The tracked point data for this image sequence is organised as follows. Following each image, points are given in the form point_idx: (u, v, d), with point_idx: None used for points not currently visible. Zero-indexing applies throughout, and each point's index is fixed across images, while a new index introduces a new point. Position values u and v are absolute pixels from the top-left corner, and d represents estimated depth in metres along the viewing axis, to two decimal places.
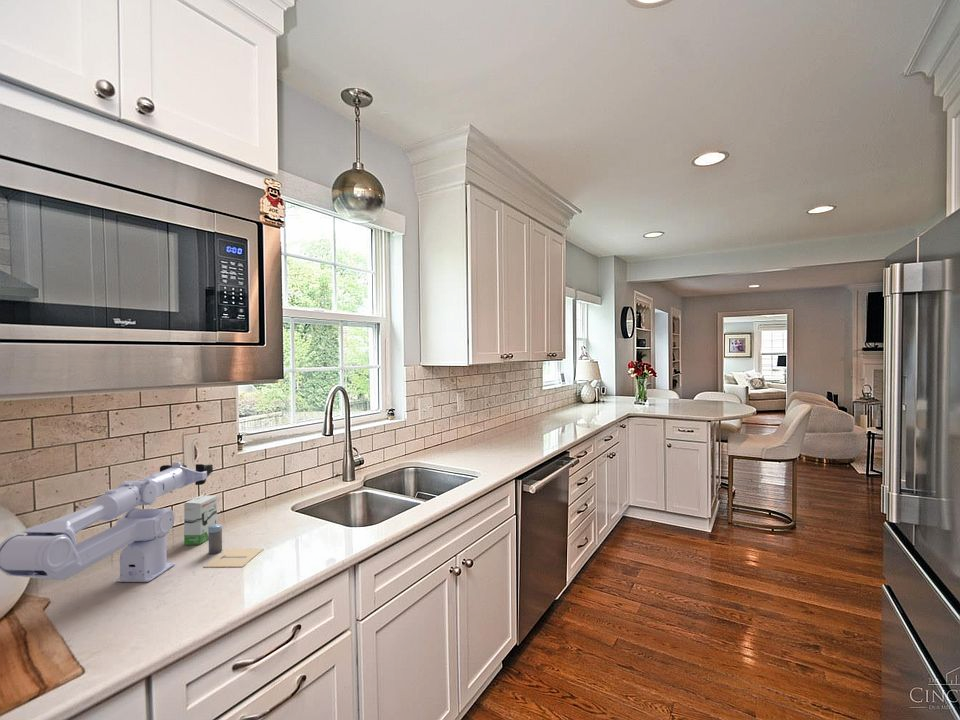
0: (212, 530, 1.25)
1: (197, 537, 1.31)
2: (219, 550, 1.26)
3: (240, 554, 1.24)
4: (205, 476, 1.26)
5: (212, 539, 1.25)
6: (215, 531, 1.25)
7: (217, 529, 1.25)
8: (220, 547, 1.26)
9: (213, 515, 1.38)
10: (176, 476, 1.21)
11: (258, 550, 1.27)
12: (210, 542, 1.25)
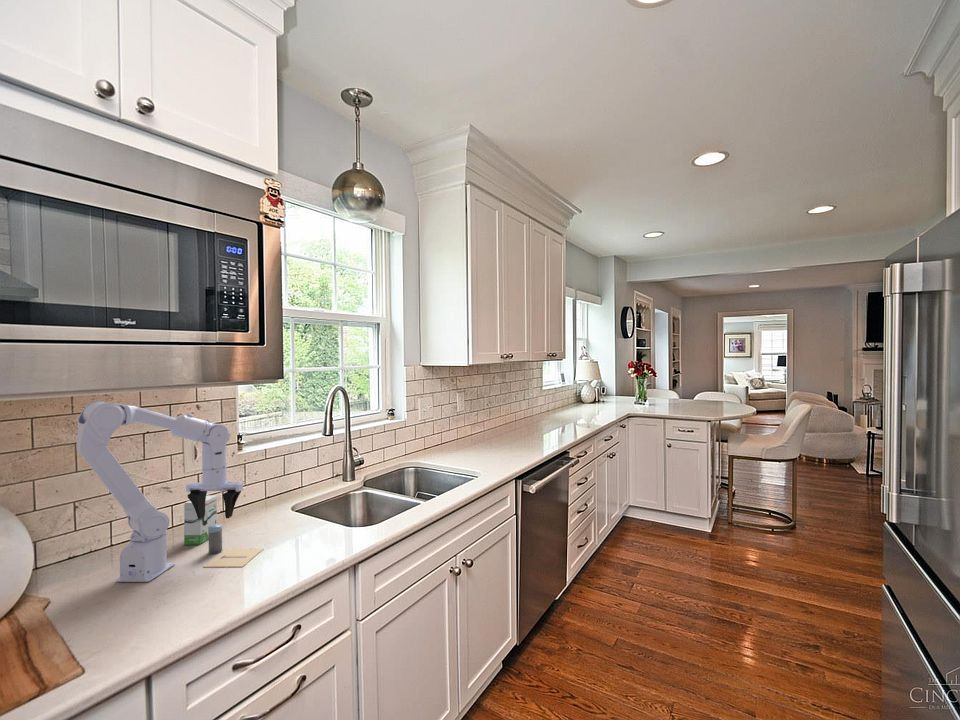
0: (212, 530, 1.25)
1: (197, 537, 1.31)
2: (219, 550, 1.26)
3: (240, 554, 1.24)
4: (240, 487, 1.26)
5: (212, 539, 1.25)
6: (215, 531, 1.25)
7: (217, 529, 1.25)
8: (220, 547, 1.26)
9: (213, 515, 1.38)
10: None
11: (258, 550, 1.27)
12: (210, 542, 1.25)
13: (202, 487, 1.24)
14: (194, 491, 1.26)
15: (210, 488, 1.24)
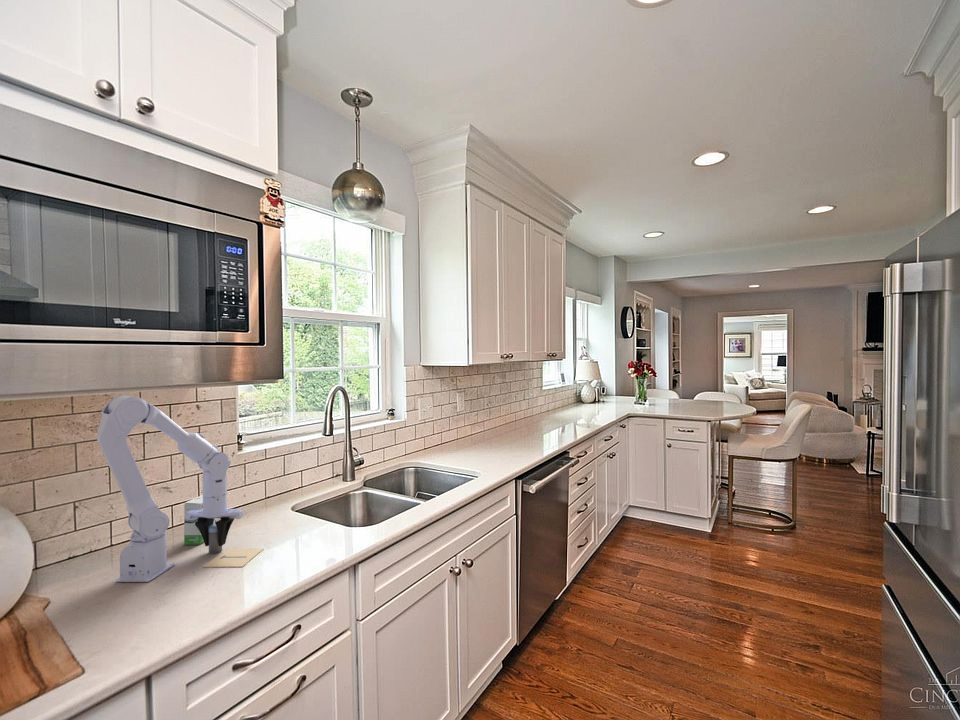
0: (212, 530, 1.25)
1: (197, 537, 1.31)
2: (219, 550, 1.26)
3: (240, 554, 1.24)
4: (240, 515, 1.26)
5: (212, 539, 1.25)
6: (215, 531, 1.25)
7: None
8: (220, 547, 1.26)
9: None
10: (226, 496, 1.28)
11: (258, 550, 1.27)
12: (210, 542, 1.25)
13: (202, 515, 1.24)
14: None
15: (210, 516, 1.24)
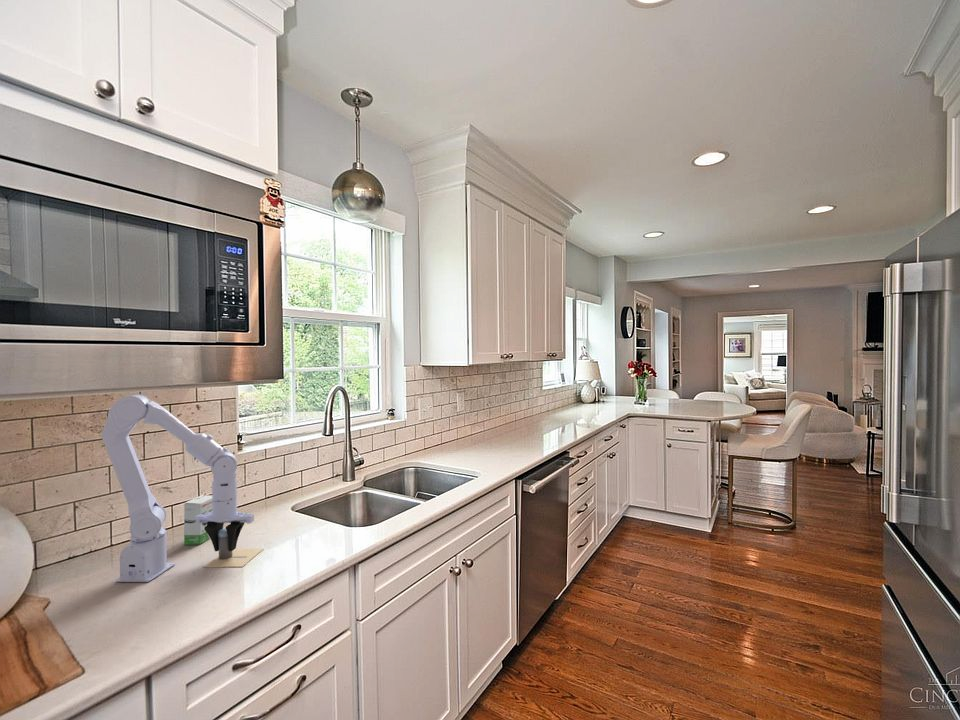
0: (222, 534, 1.21)
1: (197, 537, 1.31)
2: (229, 555, 1.22)
3: (240, 554, 1.24)
4: (251, 519, 1.22)
5: (222, 544, 1.21)
6: (225, 535, 1.21)
7: None
8: (230, 552, 1.22)
9: None
10: (236, 500, 1.24)
11: (258, 550, 1.27)
12: (220, 547, 1.21)
13: (212, 519, 1.20)
14: None
15: (220, 520, 1.20)
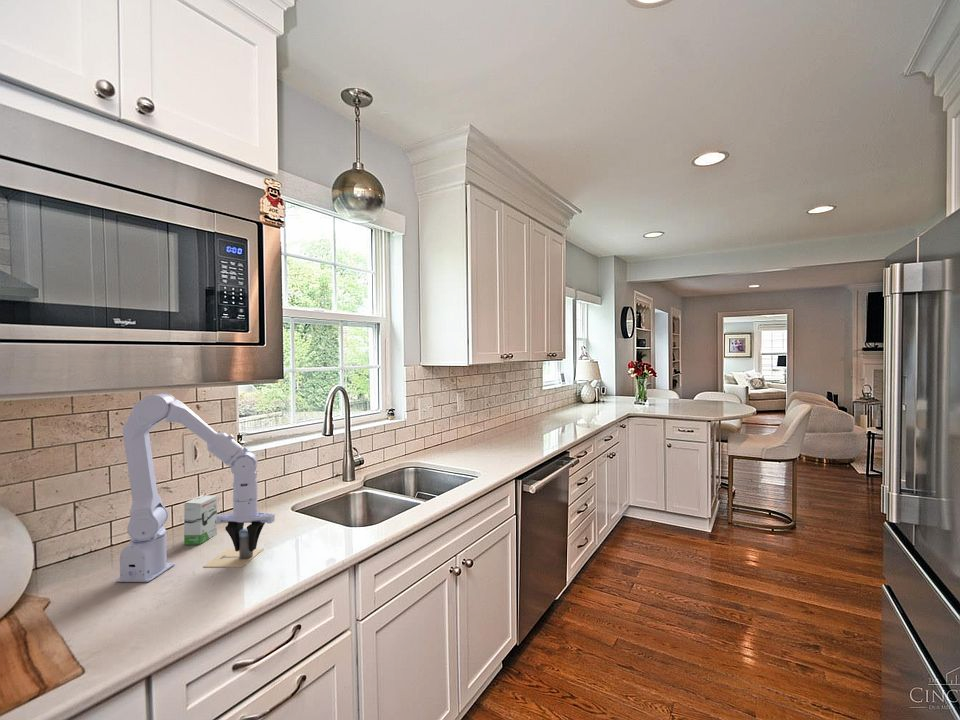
0: (243, 534, 1.21)
1: (197, 537, 1.31)
2: (250, 555, 1.22)
3: None
4: (272, 519, 1.22)
5: (243, 544, 1.21)
6: (246, 535, 1.21)
7: None
8: (251, 552, 1.22)
9: (213, 515, 1.38)
10: None
11: (258, 550, 1.27)
12: (241, 547, 1.21)
13: (233, 519, 1.20)
14: None
15: (241, 520, 1.20)
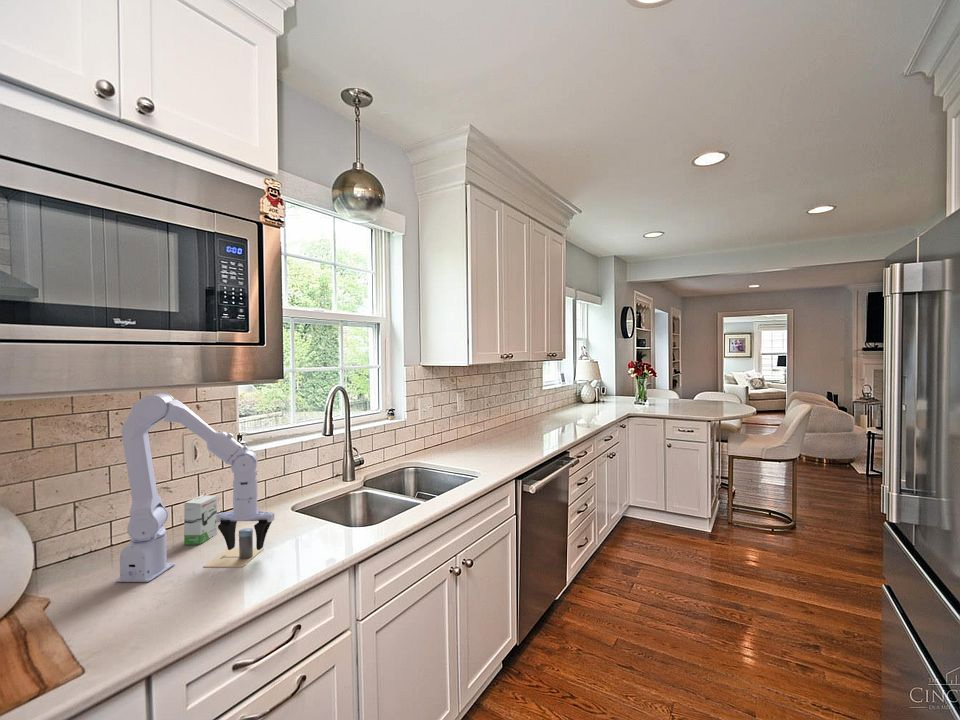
0: (243, 534, 1.21)
1: (197, 537, 1.31)
2: (250, 555, 1.22)
3: None
4: (272, 518, 1.22)
5: (243, 544, 1.21)
6: (246, 535, 1.21)
7: (248, 533, 1.21)
8: (251, 552, 1.22)
9: (213, 515, 1.38)
10: None
11: (258, 550, 1.27)
12: (241, 547, 1.21)
13: (233, 518, 1.20)
14: (224, 521, 1.22)
15: (241, 519, 1.19)
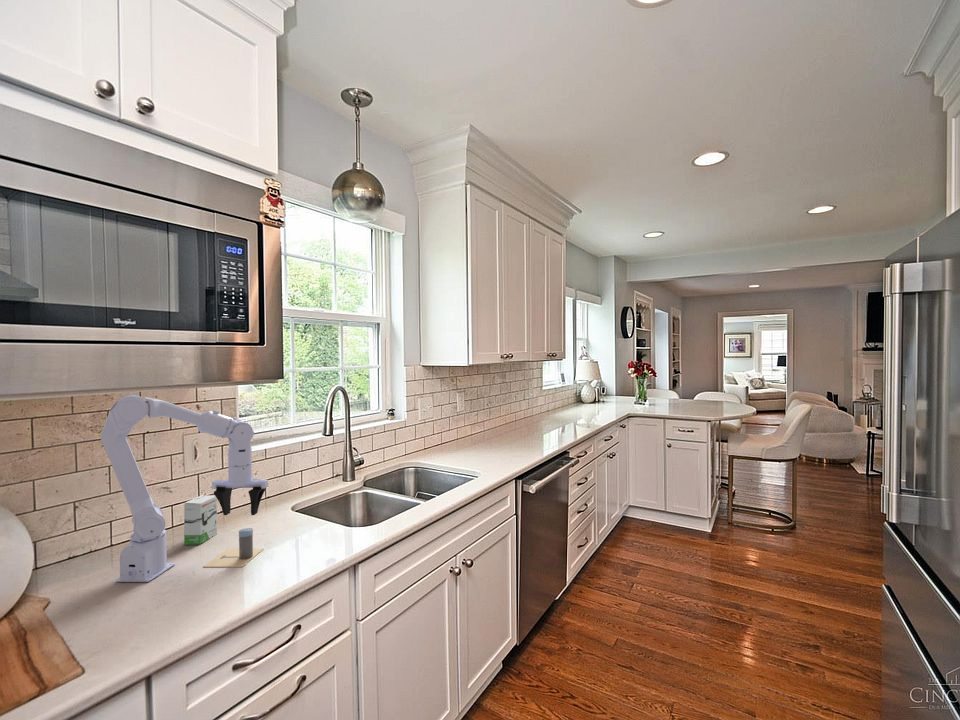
0: (243, 534, 1.21)
1: (197, 537, 1.31)
2: (250, 555, 1.22)
3: None
4: (266, 485, 1.27)
5: (243, 544, 1.21)
6: (246, 535, 1.21)
7: (248, 533, 1.21)
8: (251, 552, 1.22)
9: (213, 515, 1.38)
10: (251, 466, 1.29)
11: (258, 550, 1.27)
12: (241, 547, 1.21)
13: (228, 484, 1.25)
14: (220, 488, 1.27)
15: (236, 485, 1.25)
